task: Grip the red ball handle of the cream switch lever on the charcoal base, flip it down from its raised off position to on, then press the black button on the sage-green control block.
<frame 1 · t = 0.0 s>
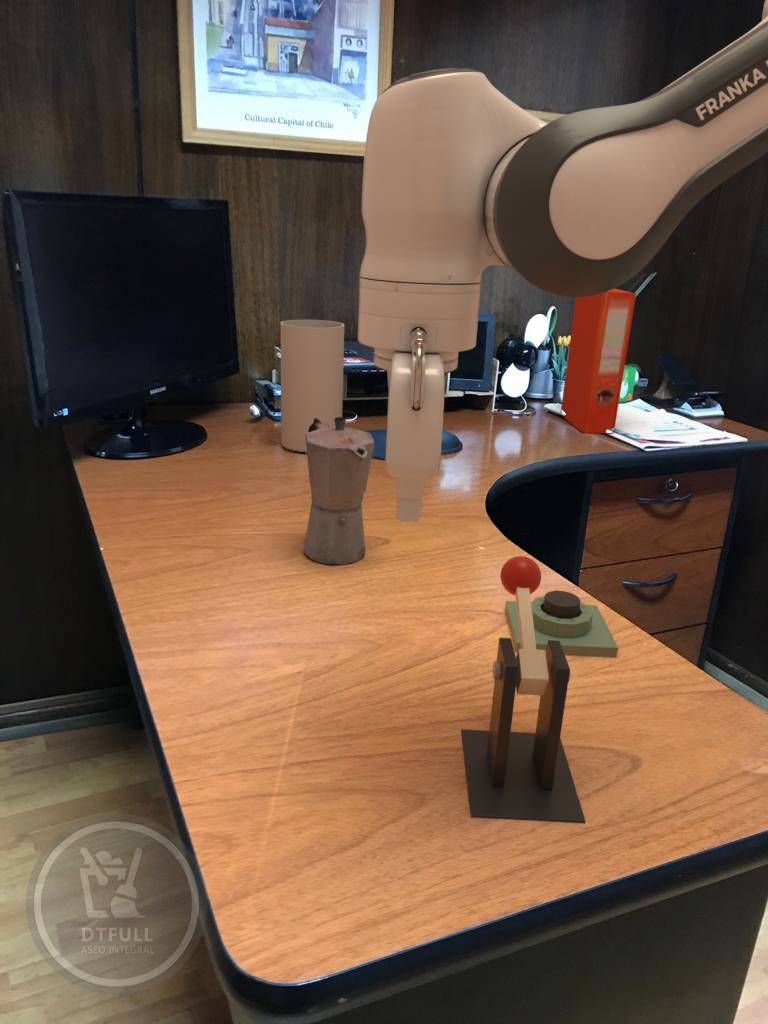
hand: (408, 497, 62), 24 cm above the table, tool pointing down, fingers open, 8 cm apart
file binder: (586, 425, 189), on the table
control block: (556, 639, 89), on the table
switch base: (517, 782, 66), on the table
cylinder vase: (311, 447, 161), on the table
moka pot: (332, 553, 110), on the table
button: (561, 605, 88), point 4 cm above the table, slide at 0.1 cm
lever: (525, 619, 66), point 13 cm above the table, hinge at 25.0°
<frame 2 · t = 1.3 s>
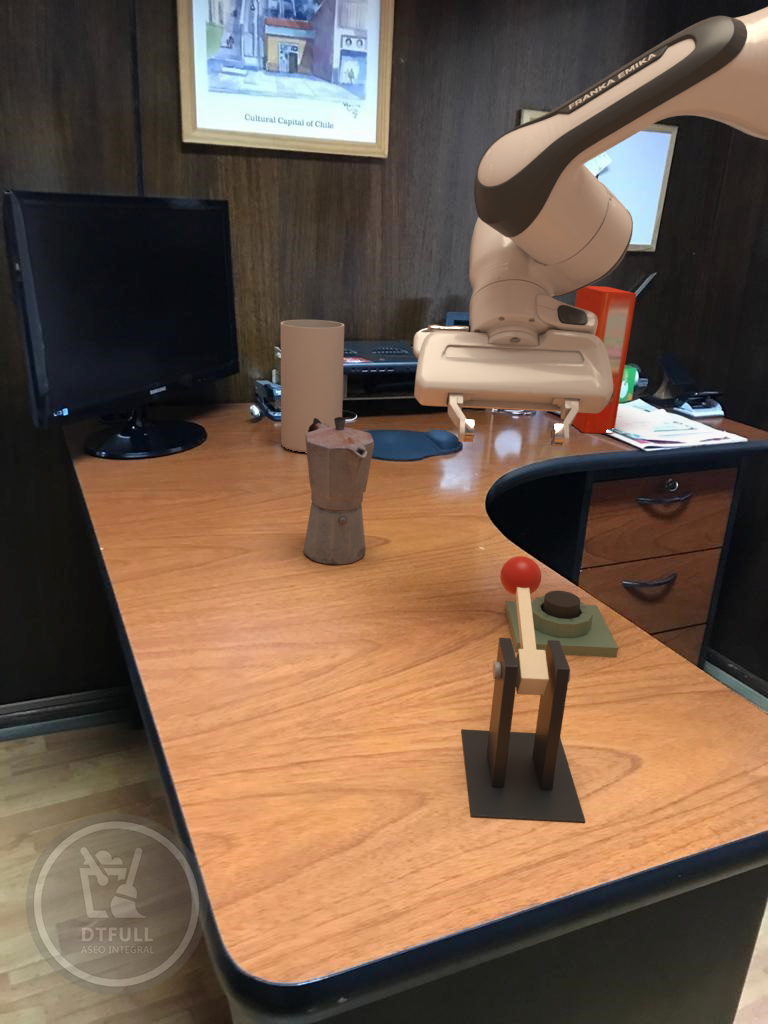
hand: (513, 441, 77), 24 cm above the table, tool tilted 45°, fingers open, 8 cm apart
nothing on the table moved.
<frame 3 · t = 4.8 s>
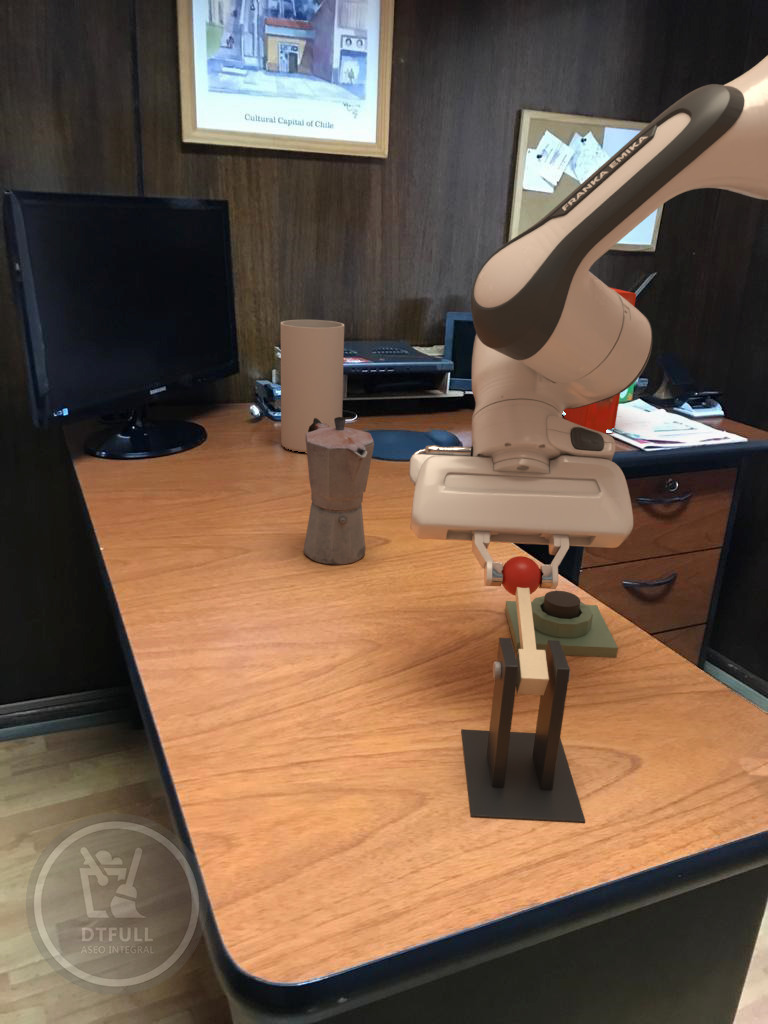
hand: (521, 585, 69), 15 cm above the table, tool tilted 45°, fingers closed on lever, 3 cm apart
lever: (525, 619, 66), point 13 cm above the table, hinge at 25.0°, touching gripper
everything else where it was.
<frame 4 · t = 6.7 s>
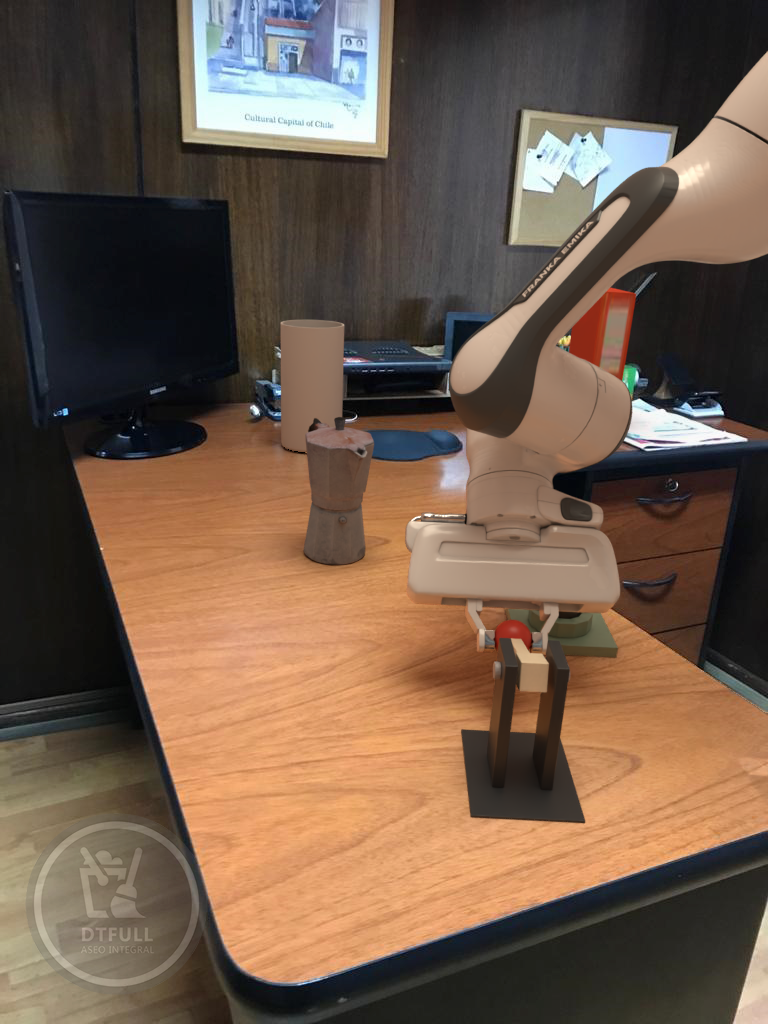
hand: (512, 652, 72), 7 cm above the table, tool tilted 45°, fingers closed on lever, 3 cm apart
lever: (520, 653, 67), point 10 cm above the table, hinge at -14.7°, touching gripper
everything else where it was.
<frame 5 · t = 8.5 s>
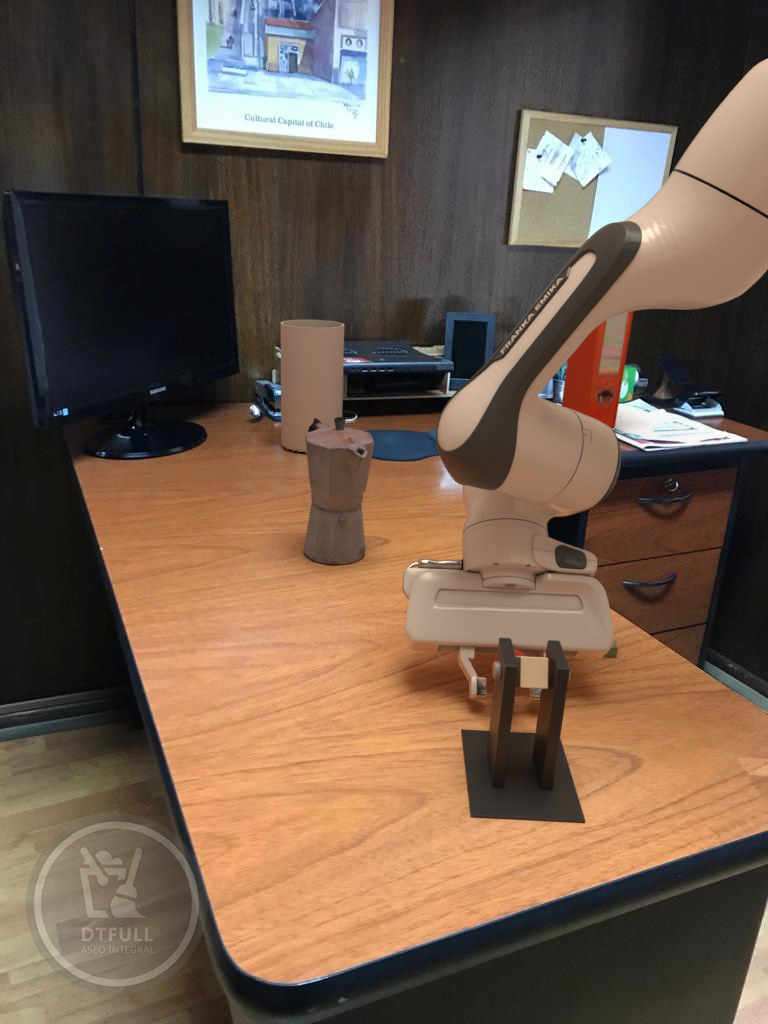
hand: (508, 699, 73), 3 cm above the table, tool tilted 45°, fingers open, 4 cm apart
lever: (519, 670, 67), point 8 cm above the table, hinge at -30.4°
everything else where it was.
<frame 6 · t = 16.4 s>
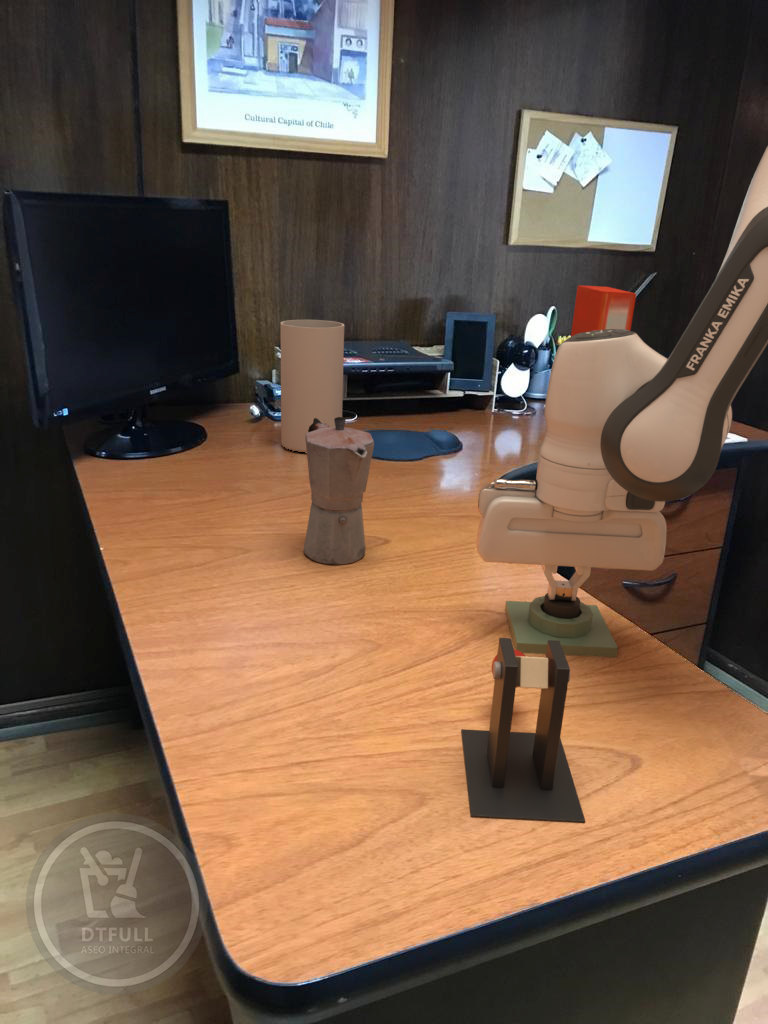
hand: (561, 598, 88), 5 cm above the table, tool pointing down, fingers closed, pressing on button
button: (561, 605, 88), point 4 cm above the table, slide at 0.0 cm, touching gripper
everything else where it was.
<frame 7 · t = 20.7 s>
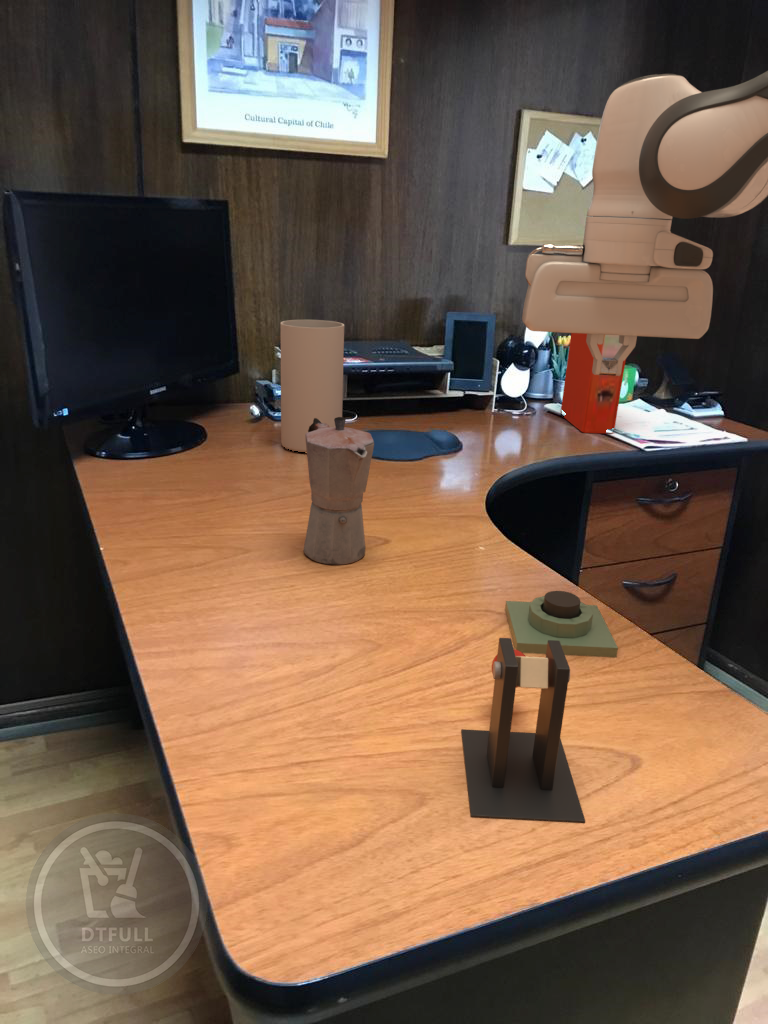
hand: (606, 374, 89), 29 cm above the table, tool pointing down, fingers closed
button: (561, 605, 88), point 4 cm above the table, slide at 0.1 cm
everything else where it was.
at the end: lever at -30° (first picture: +25°); button pushed in 1.1 cm at the most during the clip, back to where it started at the end; button slide at 0.1 cm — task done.
